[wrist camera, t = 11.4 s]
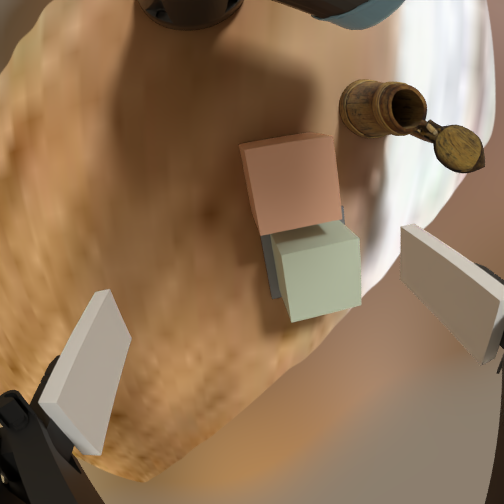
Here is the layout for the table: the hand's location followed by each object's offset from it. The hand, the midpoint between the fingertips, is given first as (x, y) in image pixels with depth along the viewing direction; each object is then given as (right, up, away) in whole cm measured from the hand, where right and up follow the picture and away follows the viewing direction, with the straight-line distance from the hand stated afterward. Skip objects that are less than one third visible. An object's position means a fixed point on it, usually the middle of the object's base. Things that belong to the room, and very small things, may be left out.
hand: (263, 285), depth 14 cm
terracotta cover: (+4, +12, +31) cm, 34 cm away
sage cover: (+8, +1, +36) cm, 37 cm away
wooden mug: (+18, +21, +29) cm, 40 cm away
